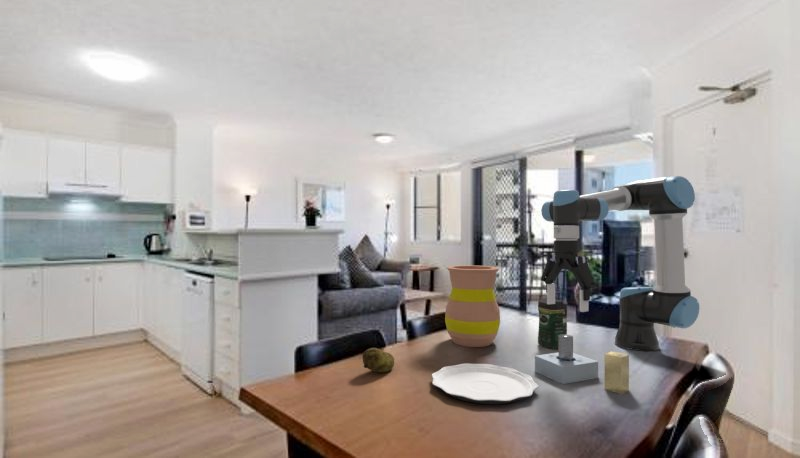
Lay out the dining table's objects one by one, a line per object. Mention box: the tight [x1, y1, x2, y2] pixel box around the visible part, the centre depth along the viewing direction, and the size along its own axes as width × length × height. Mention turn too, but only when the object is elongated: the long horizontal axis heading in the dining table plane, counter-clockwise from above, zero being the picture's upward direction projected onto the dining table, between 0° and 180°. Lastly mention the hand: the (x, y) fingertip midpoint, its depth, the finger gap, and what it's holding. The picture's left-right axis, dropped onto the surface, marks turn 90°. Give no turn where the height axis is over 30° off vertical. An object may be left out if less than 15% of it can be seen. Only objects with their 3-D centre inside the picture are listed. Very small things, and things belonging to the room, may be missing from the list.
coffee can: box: [561, 300, 569, 335], centre depth 183 cm, size 10×10×14 cm
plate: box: [430, 362, 539, 405], centre depth 120 cm, size 29×29×2 cm
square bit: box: [604, 350, 630, 395], centre depth 119 cm, size 5×5×10 cm
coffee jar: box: [537, 297, 564, 350], centre depth 163 cm, size 10×8×19 cm
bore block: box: [534, 351, 599, 385], centre depth 131 cm, size 14×12×5 cm
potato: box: [362, 347, 395, 374], centre depth 132 cm, size 8×13×8 cm, turn 127°
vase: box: [444, 264, 501, 348], centre depth 169 cm, size 22×22×30 cm
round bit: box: [558, 334, 574, 361], centre depth 131 cm, size 4×4×12 cm
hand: (566, 307), depth 131 cm, fingers open, 13 cm apart
